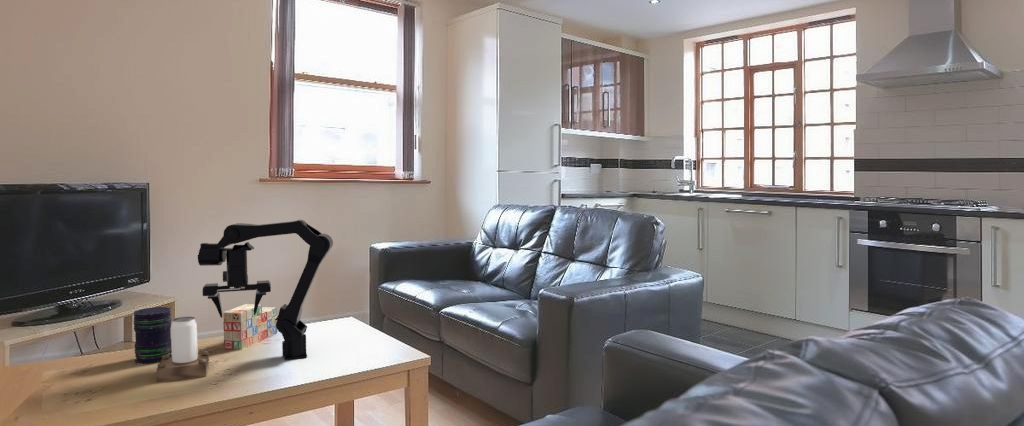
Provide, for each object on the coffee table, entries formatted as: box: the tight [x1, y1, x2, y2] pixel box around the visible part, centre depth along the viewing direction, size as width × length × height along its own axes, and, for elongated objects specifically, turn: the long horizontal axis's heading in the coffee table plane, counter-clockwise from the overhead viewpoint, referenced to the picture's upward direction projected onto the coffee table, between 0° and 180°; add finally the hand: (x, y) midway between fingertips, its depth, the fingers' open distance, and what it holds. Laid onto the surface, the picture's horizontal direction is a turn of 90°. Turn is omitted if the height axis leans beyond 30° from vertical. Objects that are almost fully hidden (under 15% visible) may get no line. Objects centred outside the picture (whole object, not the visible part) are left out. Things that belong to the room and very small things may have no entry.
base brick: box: [156, 350, 210, 382], centre depth 176 cm, size 12×10×4 cm
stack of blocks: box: [222, 303, 278, 350], centre depth 210 cm, size 21×6×12 cm, turn 170°
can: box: [170, 316, 199, 364], centre depth 176 cm, size 6×6×12 cm
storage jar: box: [133, 306, 172, 365], centre depth 189 cm, size 10×10×15 cm
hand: (238, 316), depth 190 cm, fingers open, 9 cm apart
